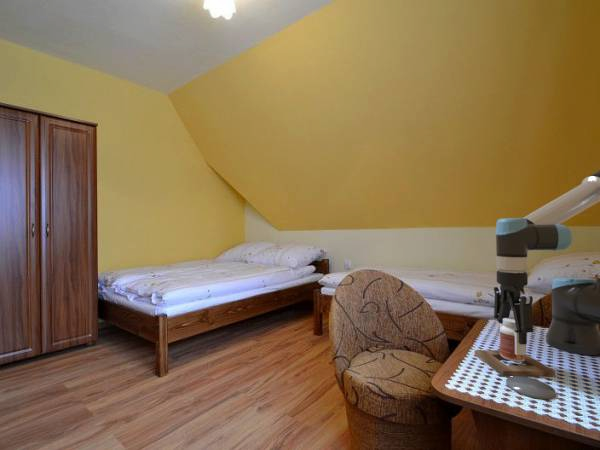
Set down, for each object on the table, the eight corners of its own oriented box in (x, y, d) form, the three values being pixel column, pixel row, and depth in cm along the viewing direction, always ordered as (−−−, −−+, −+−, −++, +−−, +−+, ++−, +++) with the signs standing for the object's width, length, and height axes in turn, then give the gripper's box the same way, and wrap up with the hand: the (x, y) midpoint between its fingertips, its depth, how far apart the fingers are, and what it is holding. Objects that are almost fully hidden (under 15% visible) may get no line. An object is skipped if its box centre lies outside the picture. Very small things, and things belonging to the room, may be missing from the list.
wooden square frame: (519, 355, 98) (519, 350, 98) (555, 376, 84) (555, 371, 84) (474, 354, 98) (474, 350, 98) (502, 376, 84) (502, 371, 84)
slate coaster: (535, 378, 83) (535, 376, 83) (566, 399, 73) (566, 397, 73) (497, 378, 83) (497, 376, 83) (523, 399, 73) (523, 396, 73)
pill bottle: (519, 364, 87) (519, 324, 87) (496, 356, 92) (495, 319, 92) (529, 359, 90) (529, 320, 90) (505, 351, 96) (505, 315, 96)
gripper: (550, 276, 82) (551, 364, 82) (503, 266, 101) (504, 337, 101) (521, 276, 82) (522, 364, 82) (480, 266, 101) (481, 337, 101)
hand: (512, 349), depth 91 cm, fingers closed on pill bottle, 6 cm apart
